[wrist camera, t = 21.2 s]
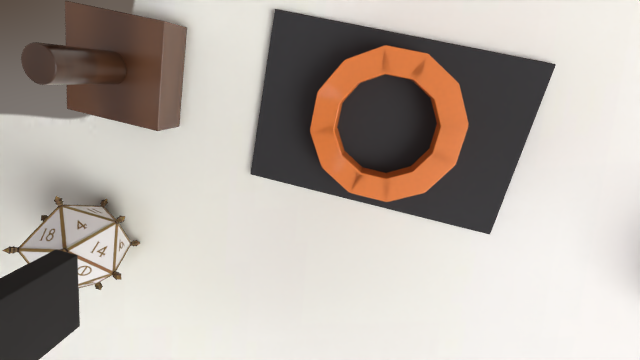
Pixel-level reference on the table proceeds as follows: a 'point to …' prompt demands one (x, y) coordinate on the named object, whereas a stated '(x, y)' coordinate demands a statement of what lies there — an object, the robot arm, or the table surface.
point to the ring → (443, 142)
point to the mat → (396, 117)
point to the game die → (80, 240)
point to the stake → (115, 66)
